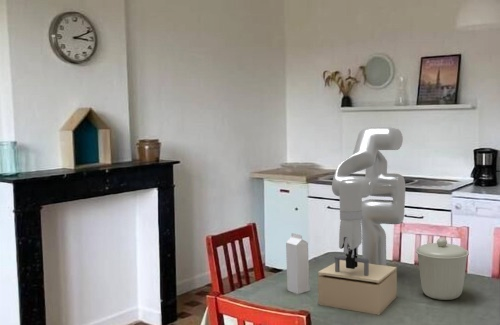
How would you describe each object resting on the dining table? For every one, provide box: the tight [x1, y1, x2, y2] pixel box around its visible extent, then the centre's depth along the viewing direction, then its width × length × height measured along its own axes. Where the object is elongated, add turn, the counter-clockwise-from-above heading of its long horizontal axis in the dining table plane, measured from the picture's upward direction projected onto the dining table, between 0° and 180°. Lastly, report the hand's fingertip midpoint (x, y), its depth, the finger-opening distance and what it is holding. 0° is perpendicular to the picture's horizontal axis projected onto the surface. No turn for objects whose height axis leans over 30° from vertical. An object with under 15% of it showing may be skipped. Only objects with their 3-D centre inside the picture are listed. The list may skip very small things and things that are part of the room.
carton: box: [317, 269, 398, 316], centre depth 196 cm, size 20×22×10 cm
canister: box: [415, 237, 470, 301], centre depth 198 cm, size 18×18×21 cm
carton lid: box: [317, 254, 398, 283], centre depth 195 cm, size 20×22×6 cm
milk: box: [285, 232, 310, 295], centre depth 208 cm, size 6×6×22 cm
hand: (351, 267), depth 190 cm, fingers closed
